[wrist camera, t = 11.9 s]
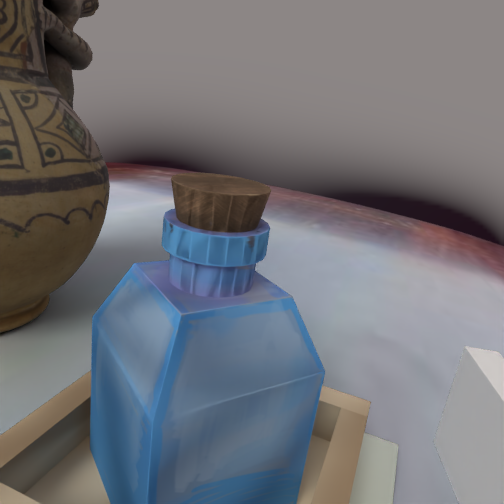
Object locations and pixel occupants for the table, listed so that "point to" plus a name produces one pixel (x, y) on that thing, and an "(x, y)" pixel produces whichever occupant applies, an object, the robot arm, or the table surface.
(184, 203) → the perfume bottle
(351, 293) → the table surface
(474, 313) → the table surface
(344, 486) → the oak box
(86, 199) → the decorative pitcher
